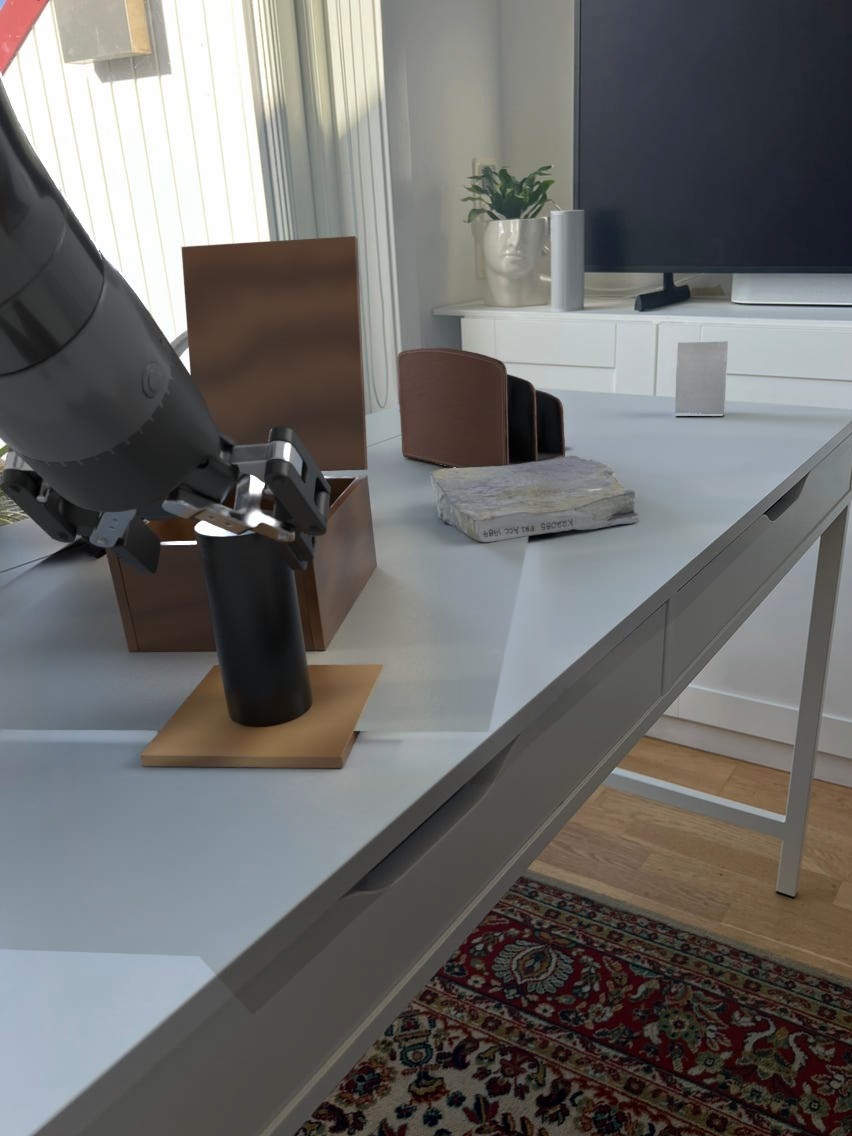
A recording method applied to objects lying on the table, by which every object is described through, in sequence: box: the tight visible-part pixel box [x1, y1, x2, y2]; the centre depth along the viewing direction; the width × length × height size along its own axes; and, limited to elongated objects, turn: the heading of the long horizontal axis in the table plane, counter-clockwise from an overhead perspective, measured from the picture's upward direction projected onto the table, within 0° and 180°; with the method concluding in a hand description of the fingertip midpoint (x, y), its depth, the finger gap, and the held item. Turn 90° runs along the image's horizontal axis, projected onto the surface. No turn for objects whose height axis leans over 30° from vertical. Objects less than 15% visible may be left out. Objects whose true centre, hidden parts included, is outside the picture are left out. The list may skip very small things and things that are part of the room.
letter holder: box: [396, 347, 566, 468], centre depth 116 cm, size 10×20×14 cm, turn 42°
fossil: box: [429, 455, 640, 543], centre depth 97 cm, size 20×5×17 cm
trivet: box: [139, 663, 385, 769], centre depth 60 cm, size 12×12×1 cm
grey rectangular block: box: [674, 340, 729, 415], centre depth 135 cm, size 4×7×10 cm, turn 75°
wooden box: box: [105, 474, 378, 653], centre depth 75 cm, size 18×15×9 cm
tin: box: [194, 510, 313, 727], centre depth 57 cm, size 5×5×12 cm
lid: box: [180, 235, 368, 472], centre depth 79 cm, size 18×15×1 cm
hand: (226, 556), depth 52 cm, fingers open, 8 cm apart
